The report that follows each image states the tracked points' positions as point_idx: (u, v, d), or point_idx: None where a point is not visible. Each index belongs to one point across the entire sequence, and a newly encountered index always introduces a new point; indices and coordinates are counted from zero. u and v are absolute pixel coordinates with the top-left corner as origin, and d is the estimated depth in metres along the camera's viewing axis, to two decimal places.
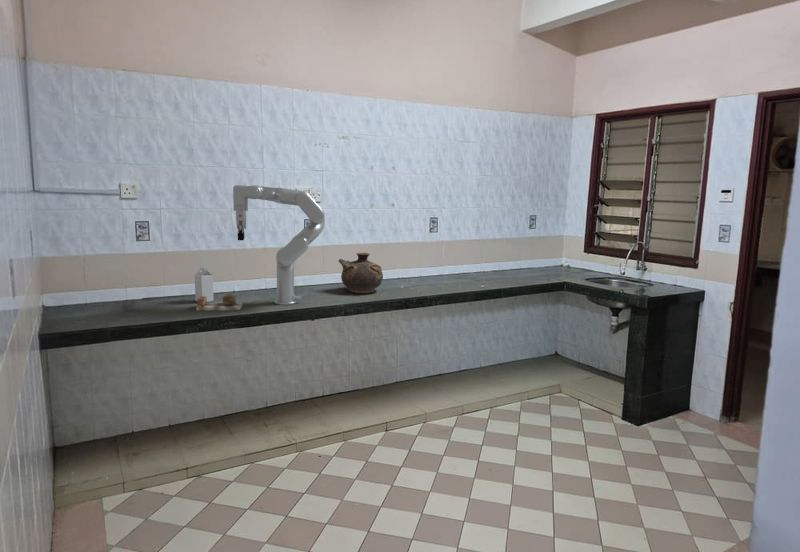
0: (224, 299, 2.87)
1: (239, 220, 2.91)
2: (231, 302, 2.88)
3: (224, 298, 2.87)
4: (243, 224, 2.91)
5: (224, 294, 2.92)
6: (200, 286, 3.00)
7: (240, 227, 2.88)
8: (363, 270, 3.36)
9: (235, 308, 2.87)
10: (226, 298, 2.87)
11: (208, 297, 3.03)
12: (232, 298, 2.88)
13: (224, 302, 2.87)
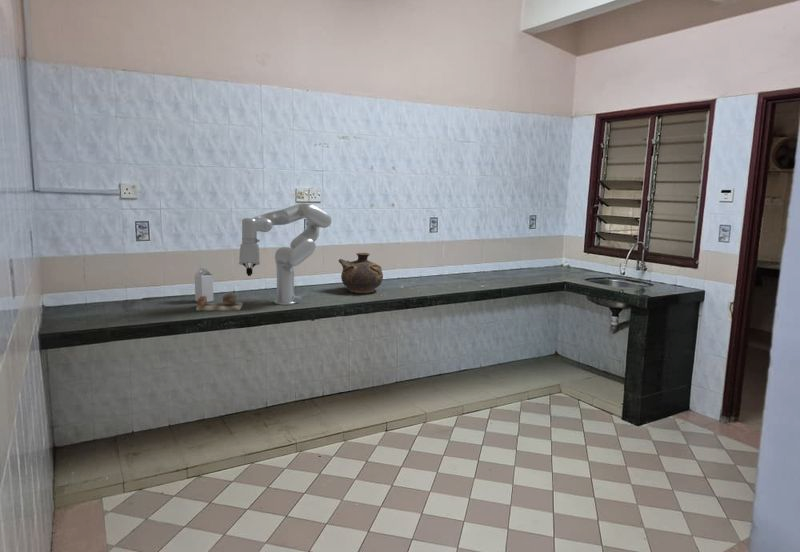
0: (224, 299, 2.87)
1: (258, 256, 2.89)
2: (231, 302, 2.88)
3: (224, 298, 2.87)
4: None
5: (224, 294, 2.92)
6: (200, 286, 3.00)
7: (257, 264, 2.90)
8: (363, 270, 3.36)
9: (235, 308, 2.87)
10: (226, 298, 2.87)
11: (208, 297, 3.03)
12: (232, 298, 2.88)
13: (224, 302, 2.87)
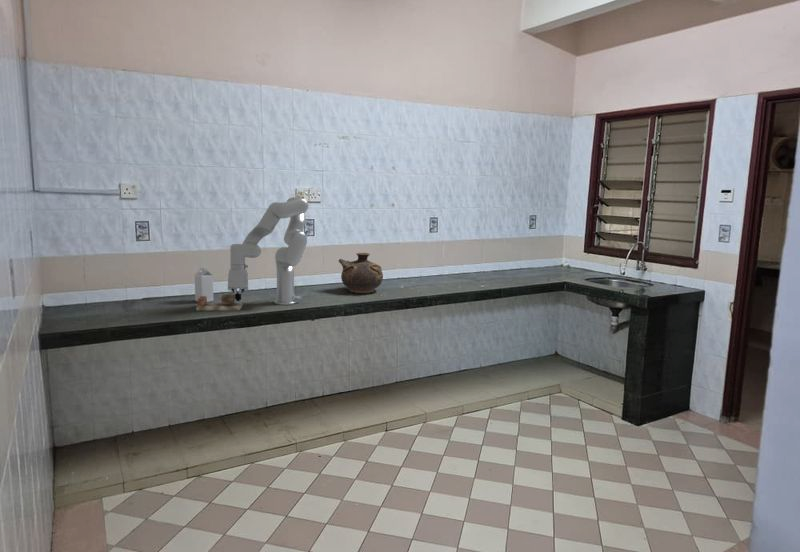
0: (223, 299, 2.87)
1: None
2: (230, 302, 2.88)
3: (223, 298, 2.87)
4: None
5: (223, 294, 2.92)
6: (200, 286, 3.00)
7: None
8: (363, 270, 3.36)
9: (235, 308, 2.87)
10: (225, 298, 2.87)
11: (208, 297, 3.03)
12: (231, 298, 2.88)
13: (223, 302, 2.87)
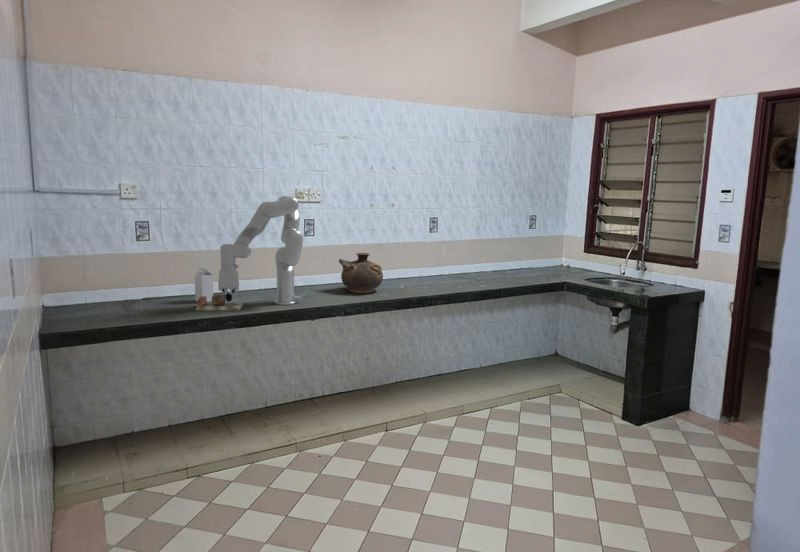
0: (213, 299, 2.86)
1: (237, 281, 2.89)
2: (220, 302, 2.87)
3: (213, 298, 2.86)
4: (238, 282, 2.91)
5: None
6: (200, 286, 3.00)
7: None
8: (363, 270, 3.36)
9: (235, 308, 2.87)
10: (215, 298, 2.86)
11: (208, 297, 3.03)
12: (221, 298, 2.87)
13: (213, 302, 2.87)
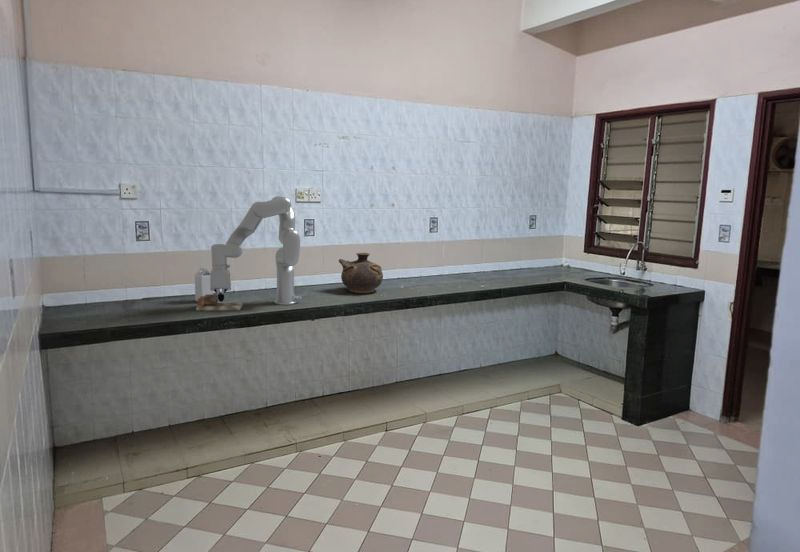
0: (205, 299, 2.86)
1: (229, 281, 2.88)
2: (212, 302, 2.87)
3: (205, 298, 2.86)
4: (230, 282, 2.91)
5: (206, 294, 2.91)
6: (200, 286, 3.00)
7: None
8: (363, 270, 3.36)
9: (235, 308, 2.87)
10: (207, 298, 2.86)
11: None
12: (213, 298, 2.86)
13: (205, 302, 2.86)
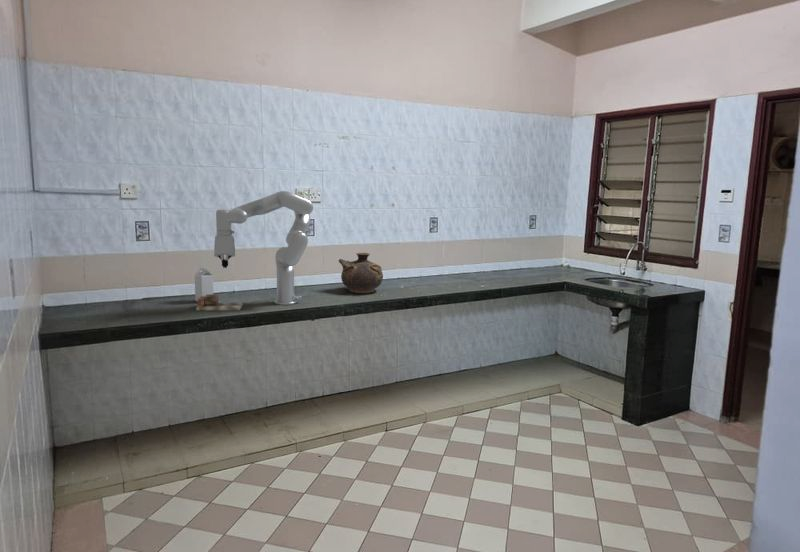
0: (206, 299, 2.86)
1: (233, 247, 2.86)
2: (213, 302, 2.87)
3: (206, 298, 2.86)
4: (234, 248, 2.88)
5: None
6: (200, 286, 3.00)
7: (233, 256, 2.87)
8: (363, 270, 3.36)
9: (235, 308, 2.87)
10: (208, 298, 2.86)
11: None
12: (214, 298, 2.86)
13: (206, 302, 2.86)
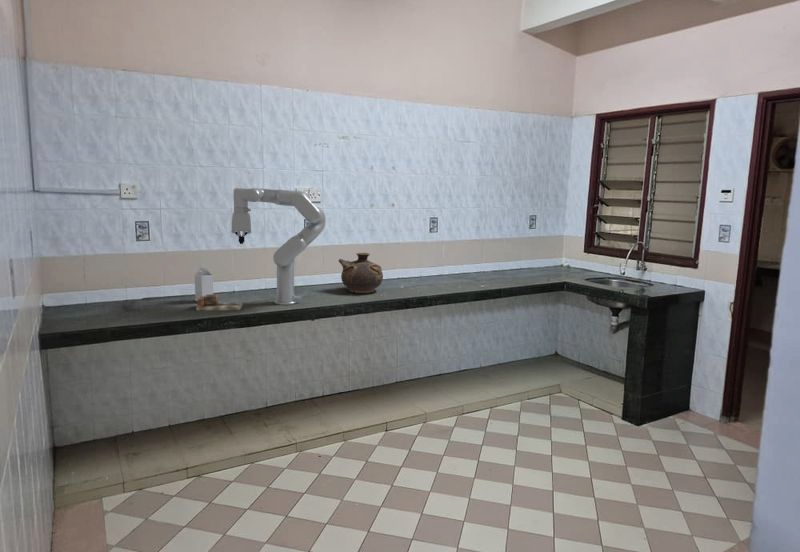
0: (206, 299, 2.86)
1: (250, 224, 3.01)
2: (213, 302, 2.87)
3: (206, 298, 2.86)
4: (250, 226, 3.03)
5: None
6: (200, 286, 3.00)
7: None
8: (363, 270, 3.36)
9: (235, 308, 2.87)
10: (208, 298, 2.86)
11: None
12: (214, 298, 2.86)
13: (206, 302, 2.86)
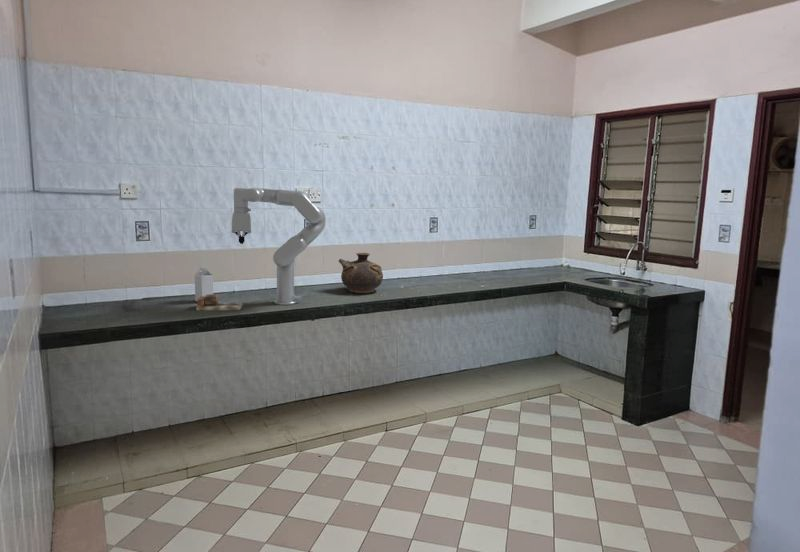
0: (206, 299, 2.86)
1: None
2: (213, 302, 2.87)
3: (206, 298, 2.86)
4: None
5: None
6: (200, 286, 3.00)
7: None
8: (363, 270, 3.36)
9: (235, 308, 2.87)
10: (208, 298, 2.86)
11: None
12: (214, 298, 2.86)
13: (206, 302, 2.86)
